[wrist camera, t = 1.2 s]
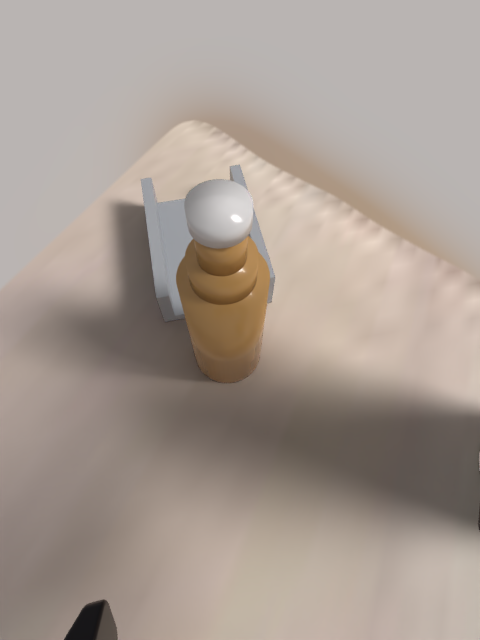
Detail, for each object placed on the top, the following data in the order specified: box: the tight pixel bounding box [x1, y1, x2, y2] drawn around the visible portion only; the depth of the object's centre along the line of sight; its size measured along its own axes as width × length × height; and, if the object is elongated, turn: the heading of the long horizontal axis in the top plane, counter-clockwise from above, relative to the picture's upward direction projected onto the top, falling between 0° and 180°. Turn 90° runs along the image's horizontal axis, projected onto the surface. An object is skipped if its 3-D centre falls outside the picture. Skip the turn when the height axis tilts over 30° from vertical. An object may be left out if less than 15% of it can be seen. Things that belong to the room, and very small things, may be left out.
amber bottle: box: [176, 179, 270, 383], centre depth 19 cm, size 4×4×14 cm
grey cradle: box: [141, 165, 275, 322], centre depth 28 cm, size 11×8×3 cm
